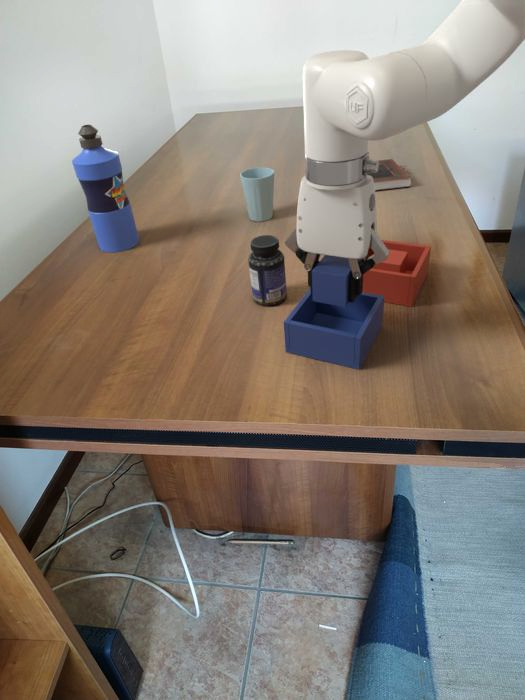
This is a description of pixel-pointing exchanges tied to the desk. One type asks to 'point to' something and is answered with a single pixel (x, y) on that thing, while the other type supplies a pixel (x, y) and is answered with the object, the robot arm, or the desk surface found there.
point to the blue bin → (334, 329)
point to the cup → (259, 192)
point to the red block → (394, 262)
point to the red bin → (399, 275)
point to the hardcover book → (390, 176)
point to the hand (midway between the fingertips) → (335, 293)
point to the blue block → (331, 281)
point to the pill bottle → (267, 271)
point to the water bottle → (105, 193)
